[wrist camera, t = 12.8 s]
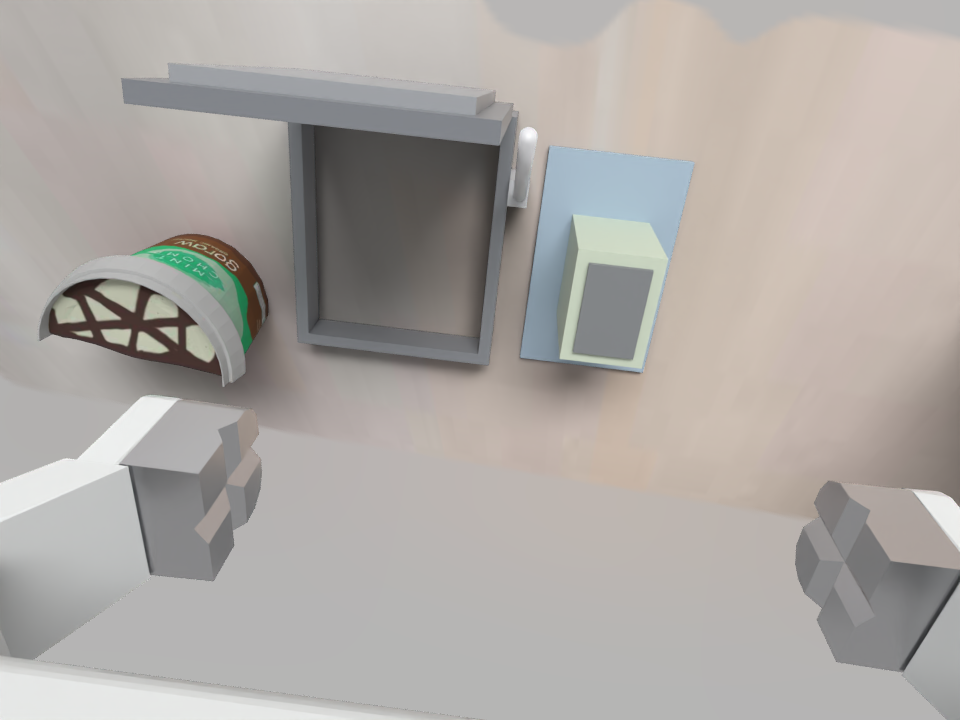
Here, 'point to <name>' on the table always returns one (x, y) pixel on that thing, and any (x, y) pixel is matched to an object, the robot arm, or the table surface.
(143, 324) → the food container
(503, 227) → the case
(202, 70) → the lid
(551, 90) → the table surface
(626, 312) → the module
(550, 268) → the mat
